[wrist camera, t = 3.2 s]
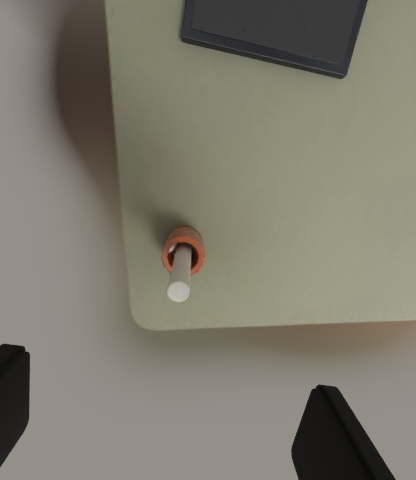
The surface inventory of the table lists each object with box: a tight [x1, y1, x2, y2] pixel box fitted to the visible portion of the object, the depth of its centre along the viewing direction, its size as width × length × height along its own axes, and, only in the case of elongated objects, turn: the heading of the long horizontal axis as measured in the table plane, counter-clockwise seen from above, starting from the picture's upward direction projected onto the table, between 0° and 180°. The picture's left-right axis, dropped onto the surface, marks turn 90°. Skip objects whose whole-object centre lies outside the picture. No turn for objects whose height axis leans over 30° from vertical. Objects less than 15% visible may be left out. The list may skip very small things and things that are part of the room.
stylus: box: [167, 242, 192, 302], centre depth 21 cm, size 1×1×10 cm
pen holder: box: [161, 226, 205, 276], centre depth 24 cm, size 4×4×4 cm
